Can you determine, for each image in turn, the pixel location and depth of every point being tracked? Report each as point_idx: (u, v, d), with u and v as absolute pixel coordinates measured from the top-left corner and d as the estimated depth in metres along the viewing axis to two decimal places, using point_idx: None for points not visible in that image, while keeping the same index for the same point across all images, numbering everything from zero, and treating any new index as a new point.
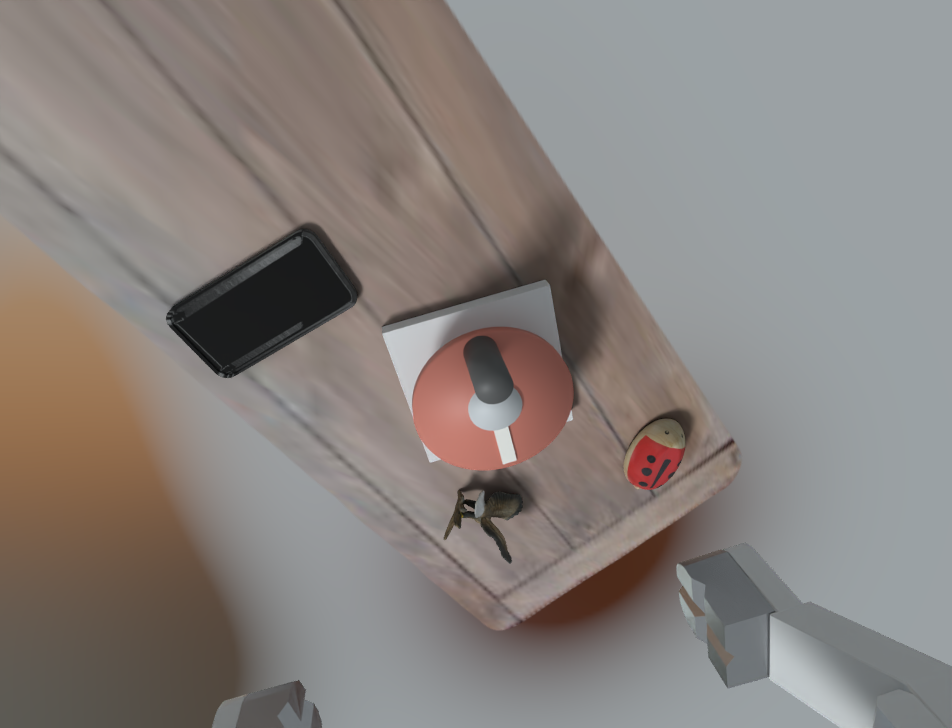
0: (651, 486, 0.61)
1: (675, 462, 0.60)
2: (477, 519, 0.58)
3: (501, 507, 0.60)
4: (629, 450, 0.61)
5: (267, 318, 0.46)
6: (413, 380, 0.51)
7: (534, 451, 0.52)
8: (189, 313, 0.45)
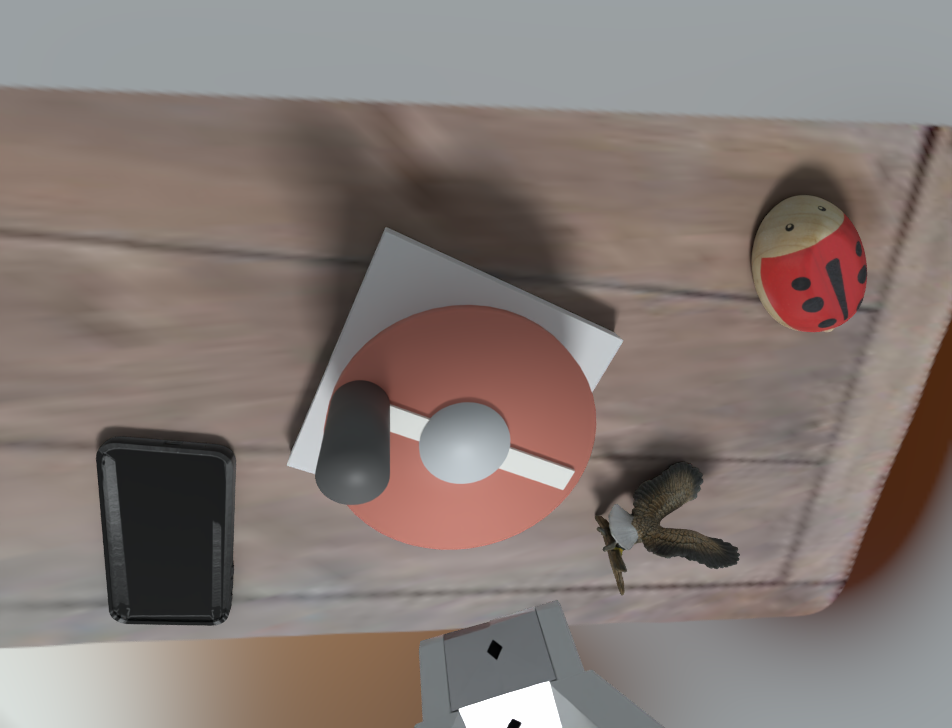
0: (843, 316, 0.33)
1: (849, 253, 0.31)
2: (640, 541, 0.37)
3: (661, 501, 0.38)
4: (760, 296, 0.34)
5: (184, 546, 0.35)
6: None
7: (586, 441, 0.30)
8: (126, 600, 0.36)
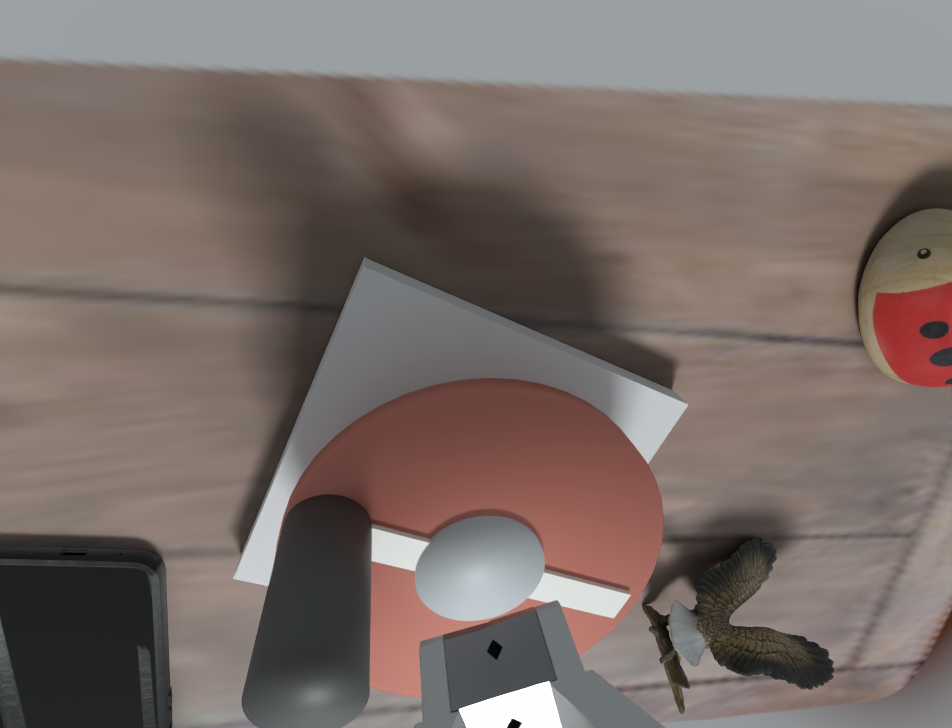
0: None
1: None
2: (706, 647, 0.29)
3: (731, 594, 0.29)
4: (867, 341, 0.26)
5: (100, 677, 0.27)
6: None
7: (648, 556, 0.21)
8: None
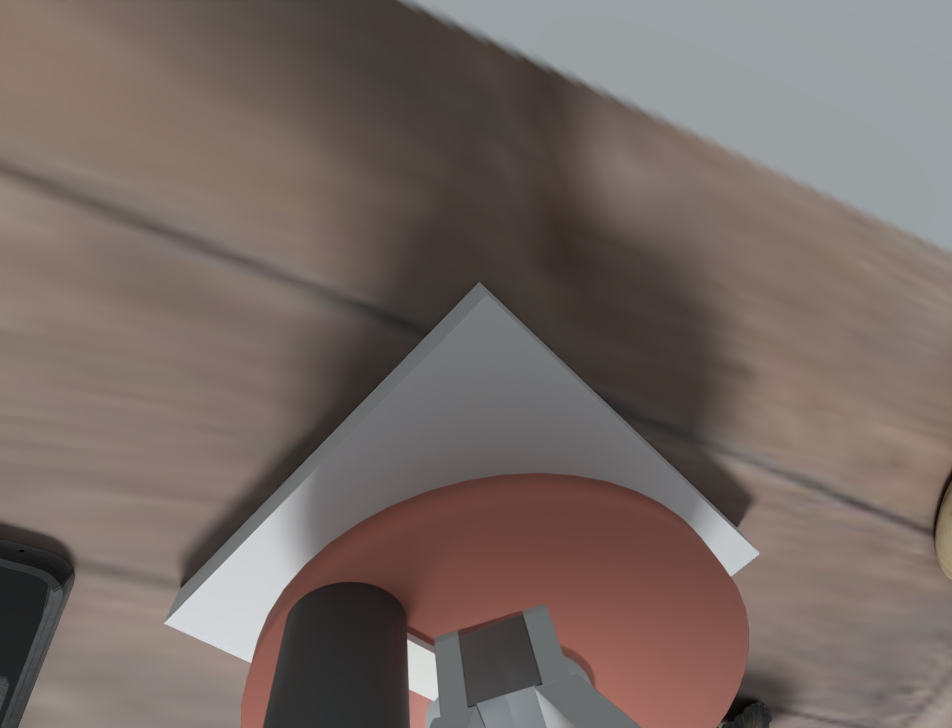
0: None
1: None
2: None
3: None
4: (943, 532, 0.24)
5: None
6: None
7: None
8: None
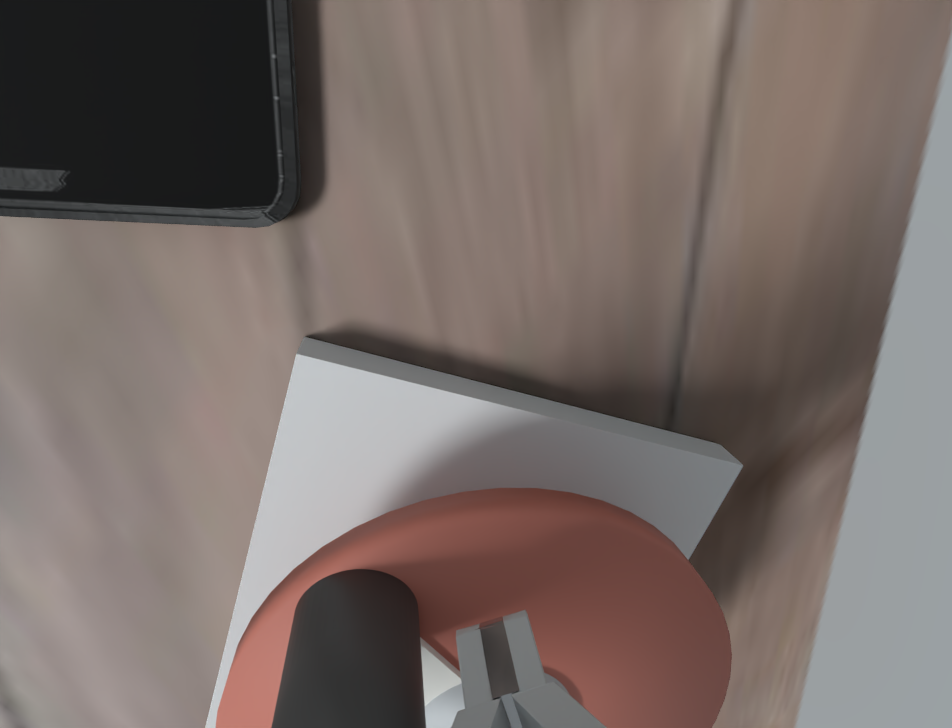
0: None
1: None
2: None
3: None
4: None
5: None
6: (299, 519, 0.17)
7: None
8: None
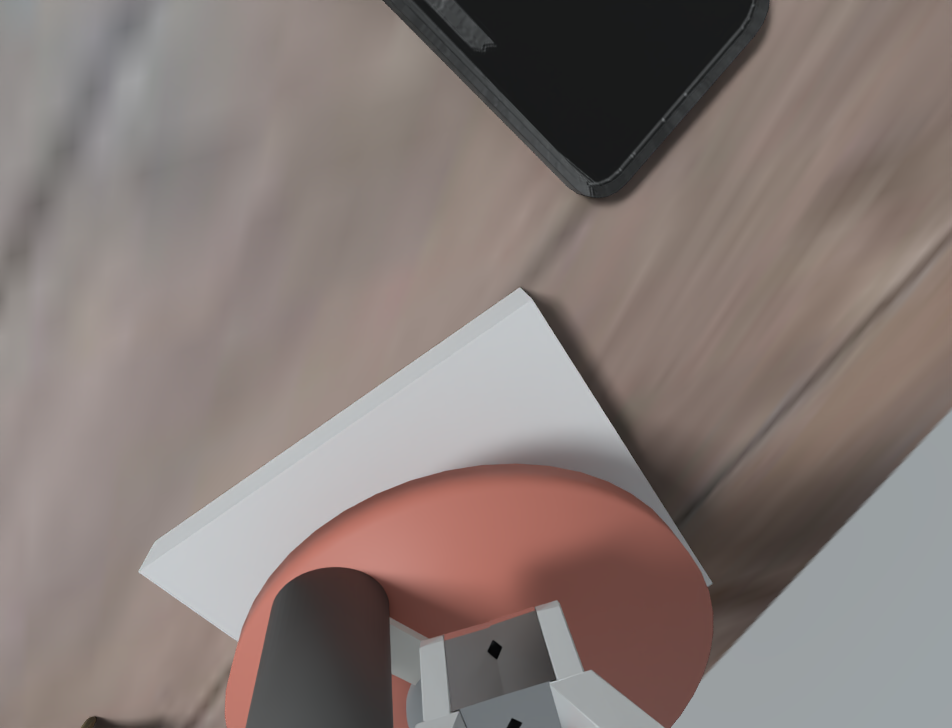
0: None
1: None
2: None
3: None
4: None
5: None
6: (410, 428, 0.17)
7: (669, 715, 0.18)
8: None
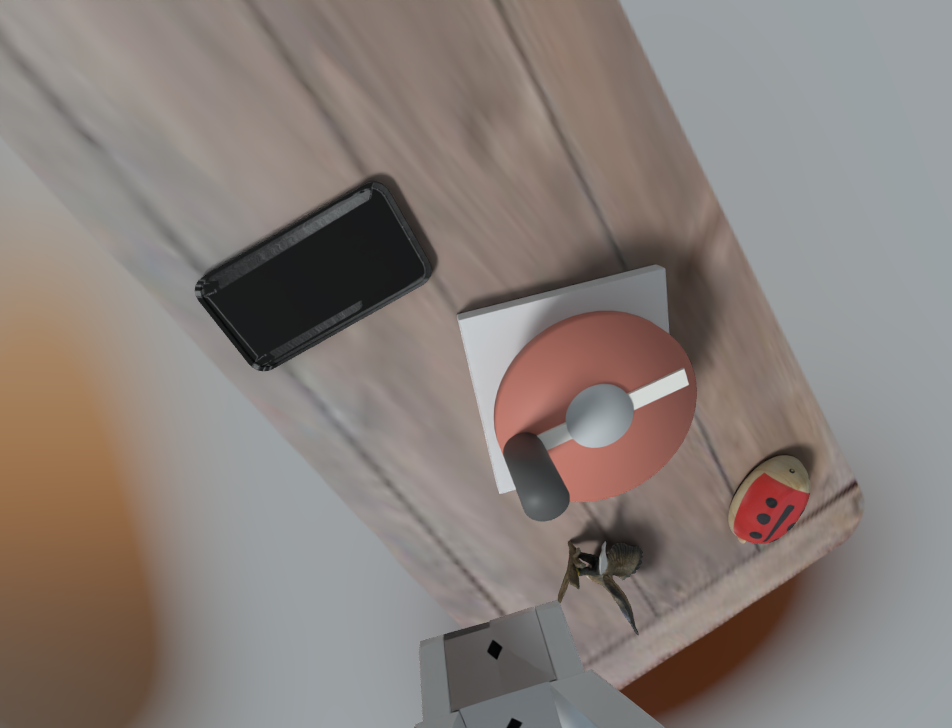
0: (765, 538, 0.49)
1: (799, 510, 0.49)
2: (597, 577, 0.48)
3: (623, 562, 0.49)
4: (740, 491, 0.50)
5: (319, 294, 0.37)
6: (491, 383, 0.41)
7: (673, 346, 0.37)
8: (224, 284, 0.36)
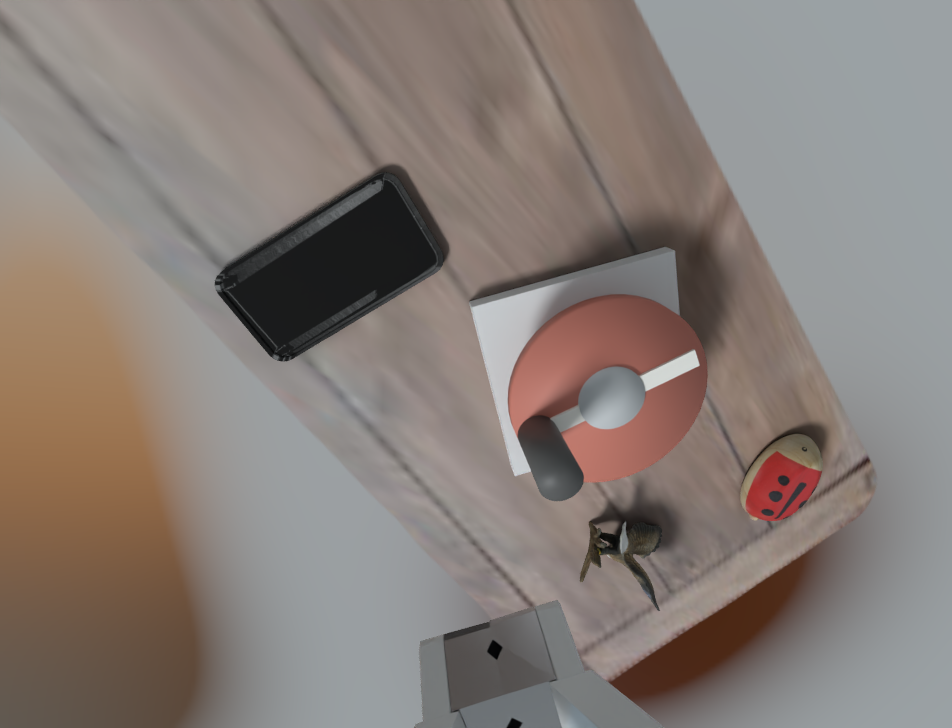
0: (777, 516, 0.50)
1: (811, 487, 0.49)
2: (618, 556, 0.49)
3: (643, 541, 0.50)
4: (752, 469, 0.51)
5: (335, 285, 0.38)
6: (504, 368, 0.42)
7: (683, 328, 0.37)
8: (243, 277, 0.37)
